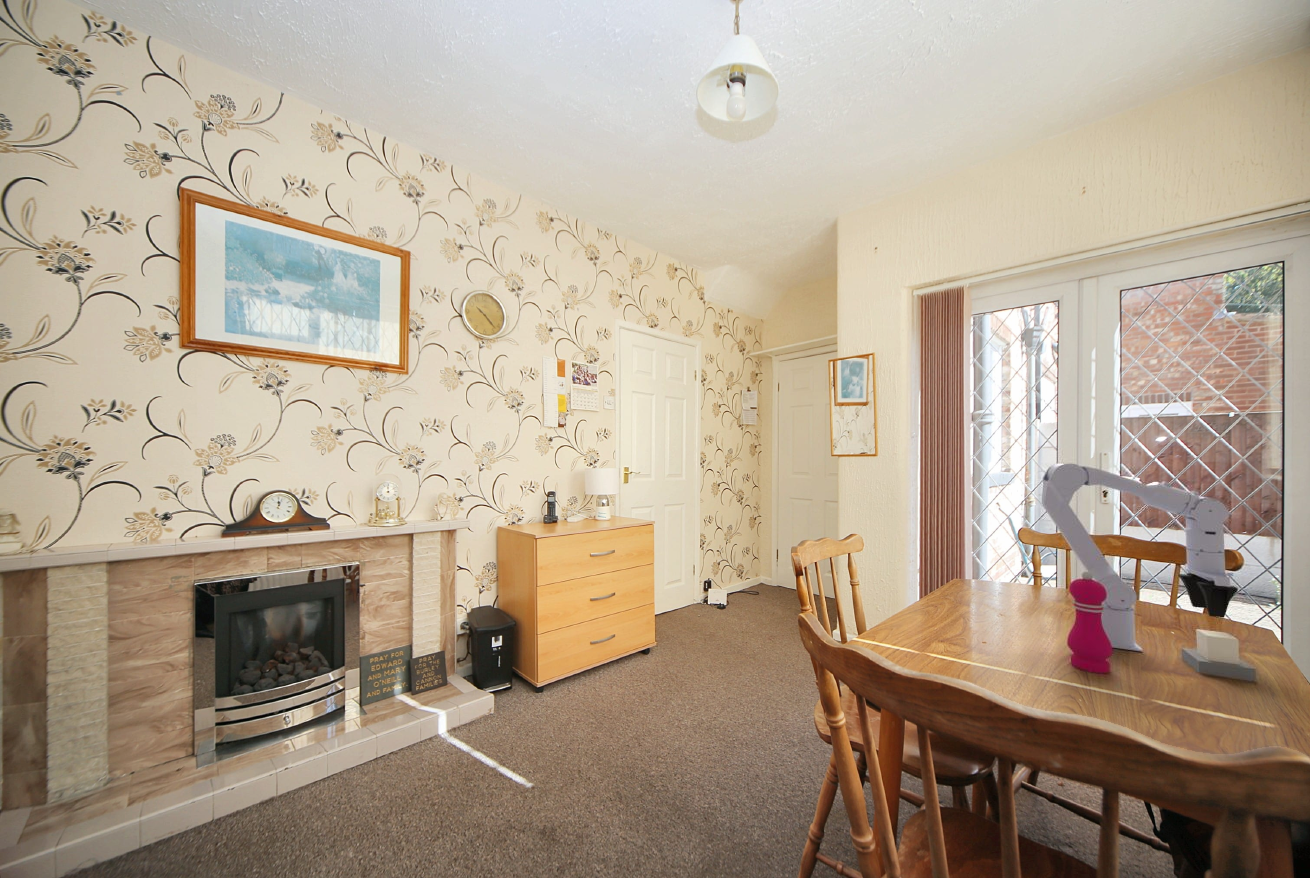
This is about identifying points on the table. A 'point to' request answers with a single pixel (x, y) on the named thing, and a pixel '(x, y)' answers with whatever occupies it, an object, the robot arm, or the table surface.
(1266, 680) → the table surface
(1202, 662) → the gray base block
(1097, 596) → the pepper mill
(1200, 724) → the table surface
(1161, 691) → the table surface
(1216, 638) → the cream block
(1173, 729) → the table surface
